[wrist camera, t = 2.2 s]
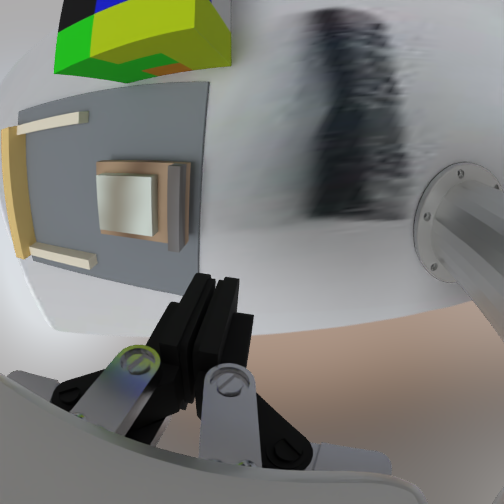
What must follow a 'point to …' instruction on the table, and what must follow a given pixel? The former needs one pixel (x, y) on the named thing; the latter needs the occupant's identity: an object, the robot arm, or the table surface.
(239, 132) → the table surface
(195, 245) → the mat
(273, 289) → the table surface
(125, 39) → the puzzle toy
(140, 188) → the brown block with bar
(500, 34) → the table surface
